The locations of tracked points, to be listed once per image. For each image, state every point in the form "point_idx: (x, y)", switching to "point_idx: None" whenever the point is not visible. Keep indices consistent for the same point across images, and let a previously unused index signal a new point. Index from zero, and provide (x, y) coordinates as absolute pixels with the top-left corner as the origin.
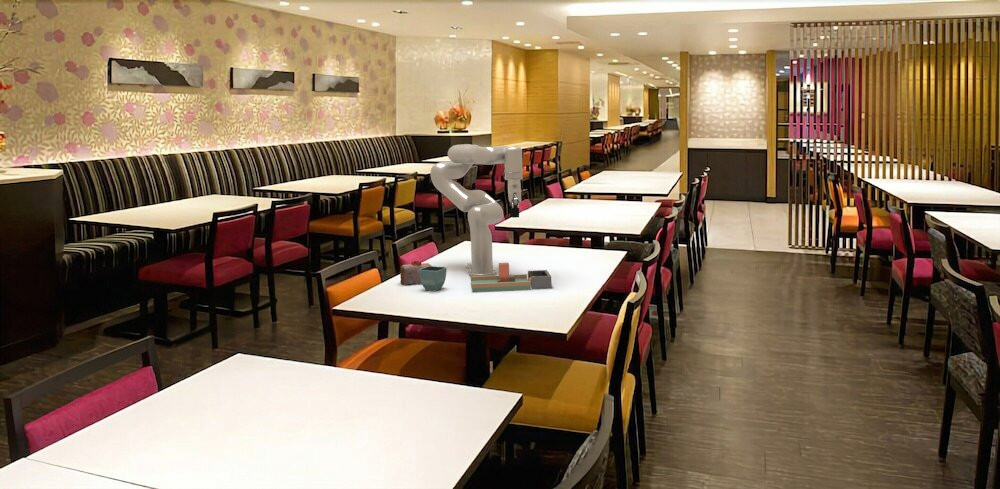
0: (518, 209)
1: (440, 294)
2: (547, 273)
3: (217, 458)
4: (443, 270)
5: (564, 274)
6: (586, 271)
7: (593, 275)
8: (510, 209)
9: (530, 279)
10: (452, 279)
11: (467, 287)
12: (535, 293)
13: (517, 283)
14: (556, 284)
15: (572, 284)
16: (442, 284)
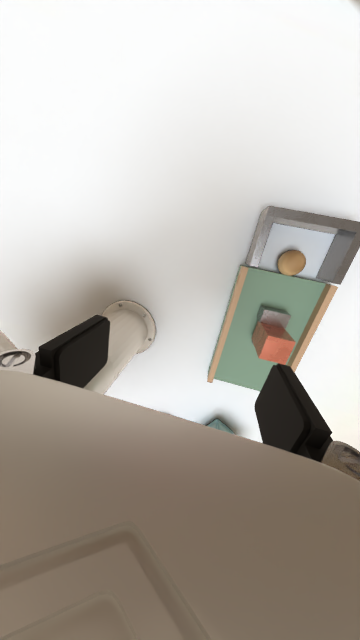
0: (317, 420)
1: (259, 431)
2: (320, 221)
3: None
4: None
5: (199, 124)
6: (185, 14)
7: (257, 3)
8: (86, 383)
9: (297, 273)
10: (155, 384)
11: (230, 384)
12: None
13: (320, 317)
14: (310, 197)
15: (341, 144)
16: (222, 424)
